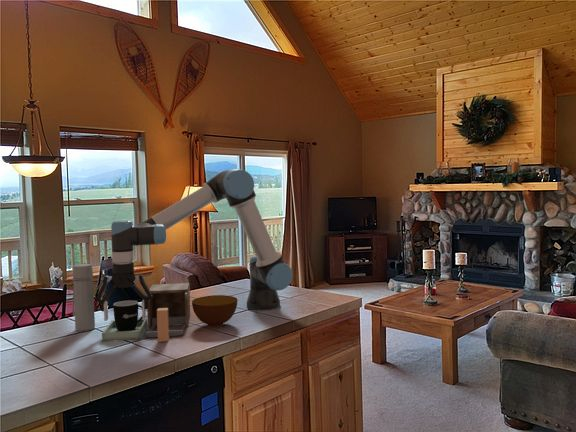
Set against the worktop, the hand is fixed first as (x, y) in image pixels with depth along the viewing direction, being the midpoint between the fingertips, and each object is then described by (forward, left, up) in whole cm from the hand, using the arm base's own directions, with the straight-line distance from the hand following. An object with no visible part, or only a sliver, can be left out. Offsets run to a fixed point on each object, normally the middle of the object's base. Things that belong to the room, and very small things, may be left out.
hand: (125, 319), depth 181 cm
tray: (0, 0, -6) cm, 6 cm away
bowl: (-33, -4, -6) cm, 34 cm away
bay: (-15, -12, -6) cm, 20 cm away
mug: (-1, -3, -5) cm, 6 cm away
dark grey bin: (-15, +3, -5) cm, 16 cm away
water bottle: (+18, -9, -6) cm, 20 cm away
